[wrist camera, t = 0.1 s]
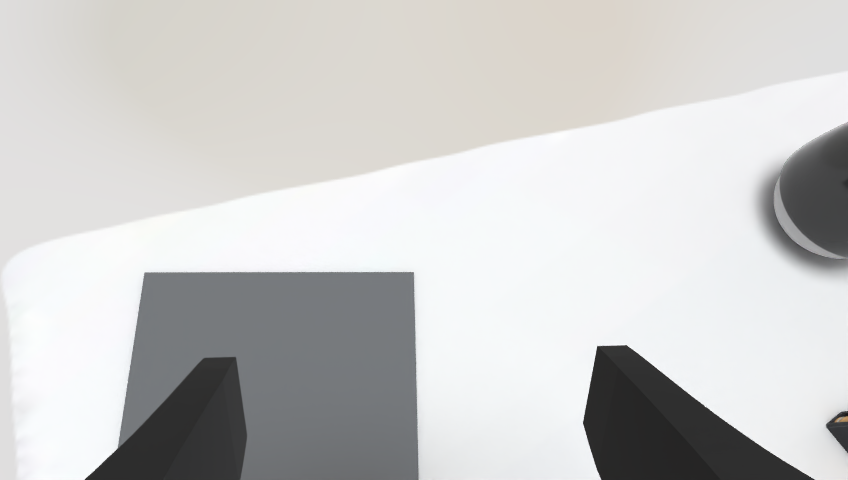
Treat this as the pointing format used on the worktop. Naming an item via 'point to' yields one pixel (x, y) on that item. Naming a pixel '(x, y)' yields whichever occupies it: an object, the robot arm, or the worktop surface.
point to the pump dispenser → (816, 195)
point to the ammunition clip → (840, 428)
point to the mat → (291, 366)
